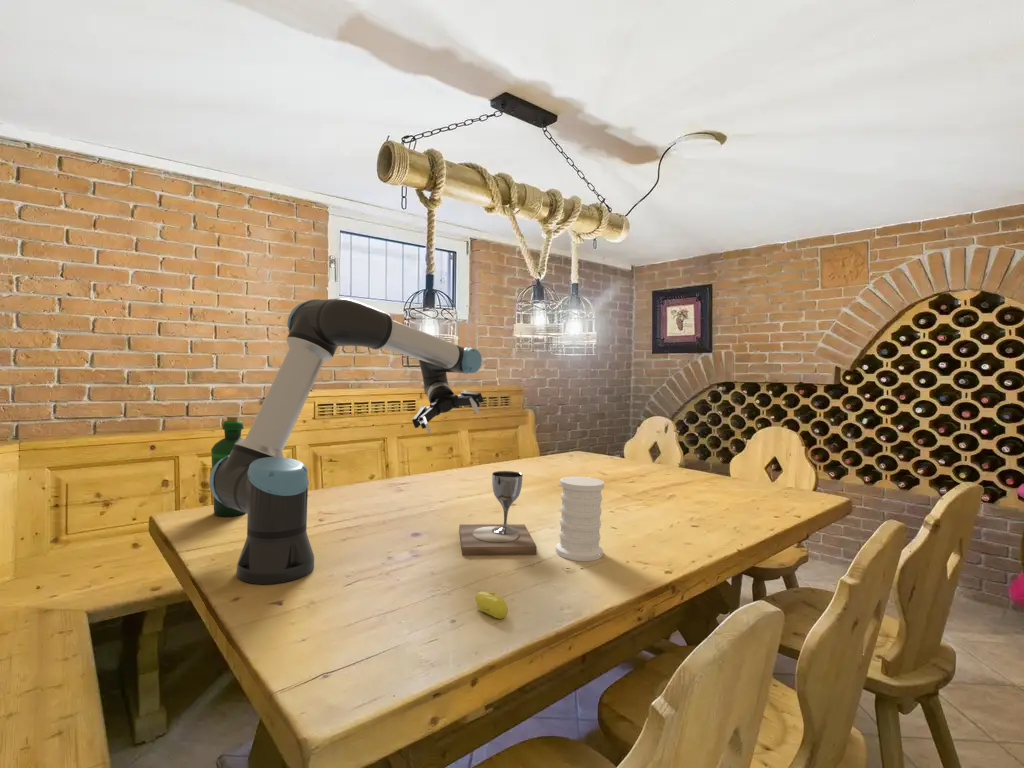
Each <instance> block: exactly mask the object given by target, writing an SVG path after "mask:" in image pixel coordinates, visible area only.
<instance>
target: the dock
mask: <svg viewBox="0 0 1024 768" xmlns="http://www.w3.org/2000/svg"><path fill="white" fill-rule="evenodd" d="M503 525H504V523H503V524H498V523H497V524H487V523H486V524H485V523H484V524H475V523H473V524H471V523H470V524H469V523H468V524H462V523H461V524H459V527H458V529H459V530H458V533H459V534H458V535H459V540H460V541H459V543H460V549H461V550H460V551H461V556H508V555H509V556H512V555H513V556H518V555H521V556H523V555H529V556H530V555H536V556H537V545H536V543H535V541H534V539H533V537H532V535H531V534H530V532H529V529H528V528H527V526H526V525H525V523H522V524H520V523H519V524H517V523H516V524H515V523H514V524H511V523H510V524H508V523H507V526H508V527H513V528H516V529H517V530H518V531H519V532H518V533H516V534H513V535H500V534H496V533H493V532H492V531H491V530H492V529H493V528H495V527H501V526H503Z"/></svg>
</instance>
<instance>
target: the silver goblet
mask: <svg viewBox="0 0 1024 768" xmlns="http://www.w3.org/2000/svg"><path fill="white" fill-rule="evenodd" d="M491 476H492V477H491V487H492V492H493V495H494V497H495V498H496V500H497V501H498V503H500V506H501V507H502V509H503V511H502V512H503V524H504V525H503V526H501V527H495V528H493V529H492V530H491V531H492V532H493V533H496V534H500V535H513V534H516V533H518V532H519V531H518V530H517V529H516V528H513V527H508V526H507V524H508V514H509V510H510V508H511V506H512V505H513V504H514V502H515V501H517V499H519V497H520V494H521V491H522V486H523V473H521V472H519V471H511V470H498V471H494V472H492V475H491Z"/></svg>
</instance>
